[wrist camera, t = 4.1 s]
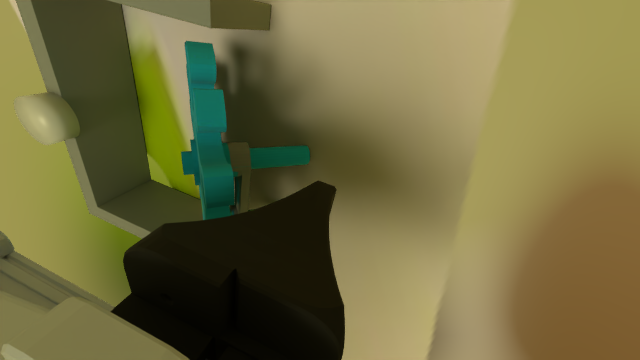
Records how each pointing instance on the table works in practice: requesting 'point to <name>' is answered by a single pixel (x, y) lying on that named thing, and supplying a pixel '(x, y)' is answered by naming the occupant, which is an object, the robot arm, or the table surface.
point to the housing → (110, 100)
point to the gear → (222, 158)
